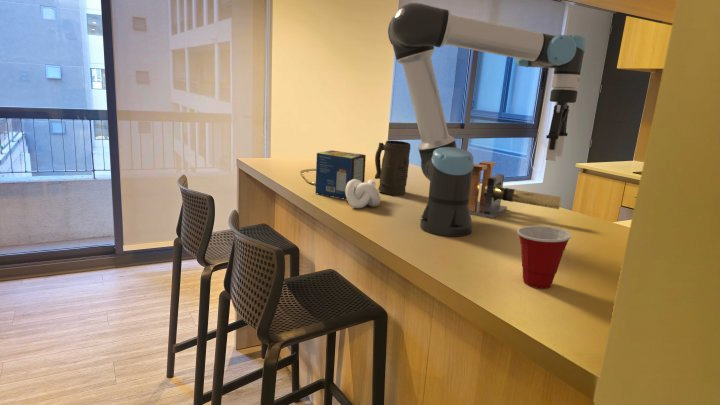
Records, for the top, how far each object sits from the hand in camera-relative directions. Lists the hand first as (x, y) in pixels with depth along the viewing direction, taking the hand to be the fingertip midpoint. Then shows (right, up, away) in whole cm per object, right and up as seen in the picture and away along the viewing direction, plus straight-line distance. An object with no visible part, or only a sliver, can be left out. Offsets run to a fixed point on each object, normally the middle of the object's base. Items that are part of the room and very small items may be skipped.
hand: (553, 158), depth 146 cm
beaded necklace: (-77, -4, +55) cm, 95 cm away
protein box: (-69, -11, +27) cm, 75 cm away
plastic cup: (-23, -32, -45) cm, 60 cm away
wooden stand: (-20, -17, +16) cm, 30 cm away
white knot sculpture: (-61, -16, +12) cm, 64 cm away
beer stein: (-50, -10, +36) cm, 63 cm away
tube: (-8, -14, +7) cm, 18 cm away
